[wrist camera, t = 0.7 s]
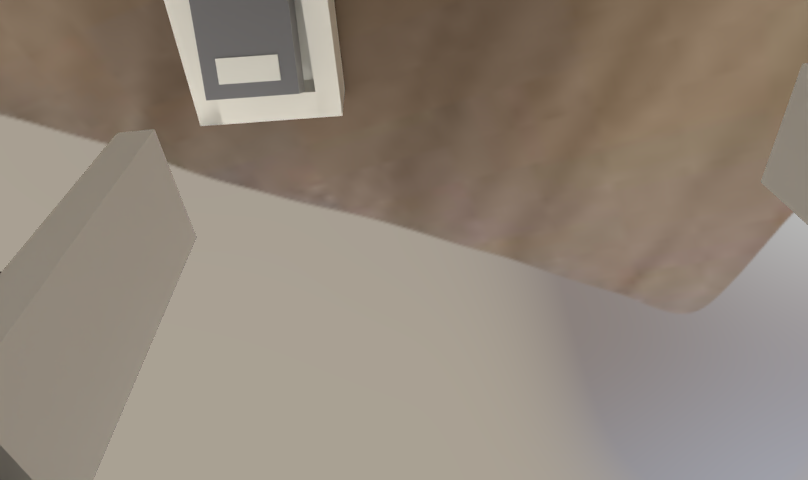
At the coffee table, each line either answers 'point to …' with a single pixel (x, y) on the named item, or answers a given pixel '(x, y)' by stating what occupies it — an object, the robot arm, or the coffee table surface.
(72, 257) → the robot arm
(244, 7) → the rocker
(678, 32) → the coffee table surface
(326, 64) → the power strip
